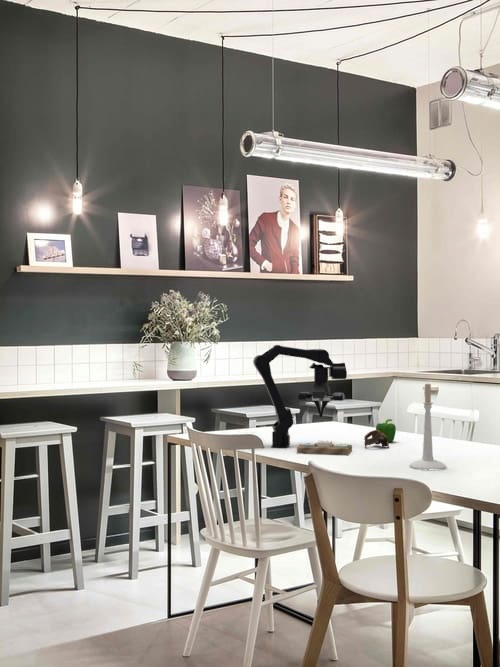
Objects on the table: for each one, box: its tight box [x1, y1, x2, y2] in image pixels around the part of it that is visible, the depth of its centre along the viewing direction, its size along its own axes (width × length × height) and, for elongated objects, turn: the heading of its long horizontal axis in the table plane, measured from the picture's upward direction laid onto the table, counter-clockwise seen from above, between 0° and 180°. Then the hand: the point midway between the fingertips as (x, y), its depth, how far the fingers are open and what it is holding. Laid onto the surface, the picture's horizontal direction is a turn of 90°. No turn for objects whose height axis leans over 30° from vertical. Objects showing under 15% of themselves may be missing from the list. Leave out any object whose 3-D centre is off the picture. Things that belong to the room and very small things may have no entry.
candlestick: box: [408, 383, 447, 471], centre depth 305 cm, size 13×13×30 cm
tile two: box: [316, 440, 333, 447], centre depth 340 cm, size 5×5×2 cm
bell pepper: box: [375, 418, 397, 443], centre depth 367 cm, size 8×8×10 cm
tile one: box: [300, 442, 317, 447], centre depth 342 cm, size 5×5×2 cm
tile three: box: [334, 443, 349, 448], centre depth 338 cm, size 5×5×2 cm
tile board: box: [296, 443, 353, 456], centre depth 340 cm, size 20×12×2 cm, turn 76°
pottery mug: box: [363, 429, 390, 449], centre depth 353 cm, size 12×10×8 cm
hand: (321, 417), depth 356 cm, fingers closed
